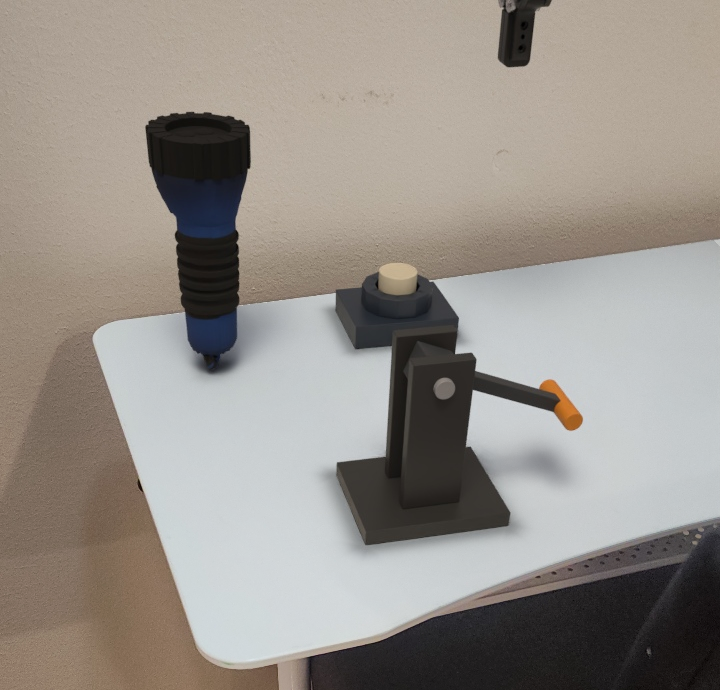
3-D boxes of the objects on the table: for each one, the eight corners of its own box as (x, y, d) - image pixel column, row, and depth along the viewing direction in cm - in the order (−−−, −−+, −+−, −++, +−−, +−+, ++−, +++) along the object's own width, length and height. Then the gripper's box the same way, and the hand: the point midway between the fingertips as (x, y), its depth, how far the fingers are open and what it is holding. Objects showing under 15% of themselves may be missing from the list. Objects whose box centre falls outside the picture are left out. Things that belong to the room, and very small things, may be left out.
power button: (410, 279, 96) (411, 261, 94) (421, 295, 93) (422, 277, 92) (373, 282, 95) (374, 264, 94) (383, 298, 92) (384, 280, 91)
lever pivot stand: (469, 458, 80) (488, 307, 71) (508, 525, 74) (535, 369, 65) (336, 474, 78) (339, 320, 69) (365, 545, 72) (372, 385, 63)
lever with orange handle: (547, 403, 76) (563, 375, 75) (573, 438, 72) (590, 410, 71) (397, 361, 70) (410, 330, 69) (417, 397, 67) (432, 365, 65)
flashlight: (249, 339, 94) (238, 106, 80) (269, 380, 88) (261, 139, 74) (163, 349, 92) (137, 112, 78) (178, 392, 86) (153, 146, 72)
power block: (431, 302, 100) (435, 263, 98) (457, 339, 95) (461, 299, 92) (335, 310, 98) (335, 271, 96) (355, 349, 93) (356, 308, 90)
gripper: (636, -216, 64) (590, 85, 76) (556, -229, 73) (526, 41, 85) (526, -215, 62) (497, 91, 74) (458, -229, 71) (442, 45, 83)
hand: (513, 64), depth 79 cm, fingers closed
